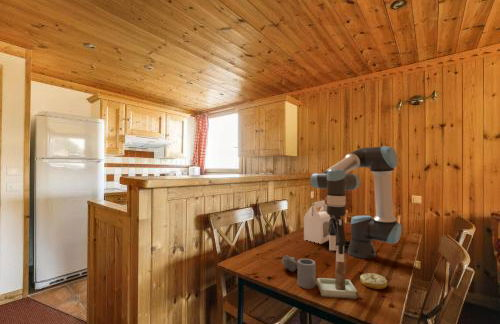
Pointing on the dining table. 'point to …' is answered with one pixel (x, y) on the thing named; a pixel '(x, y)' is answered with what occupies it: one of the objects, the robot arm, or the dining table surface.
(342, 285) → the walnut dowel
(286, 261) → the fossil
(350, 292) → the sage tray
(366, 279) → the decorated donut
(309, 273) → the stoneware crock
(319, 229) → the gable box
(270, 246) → the dining table surface
